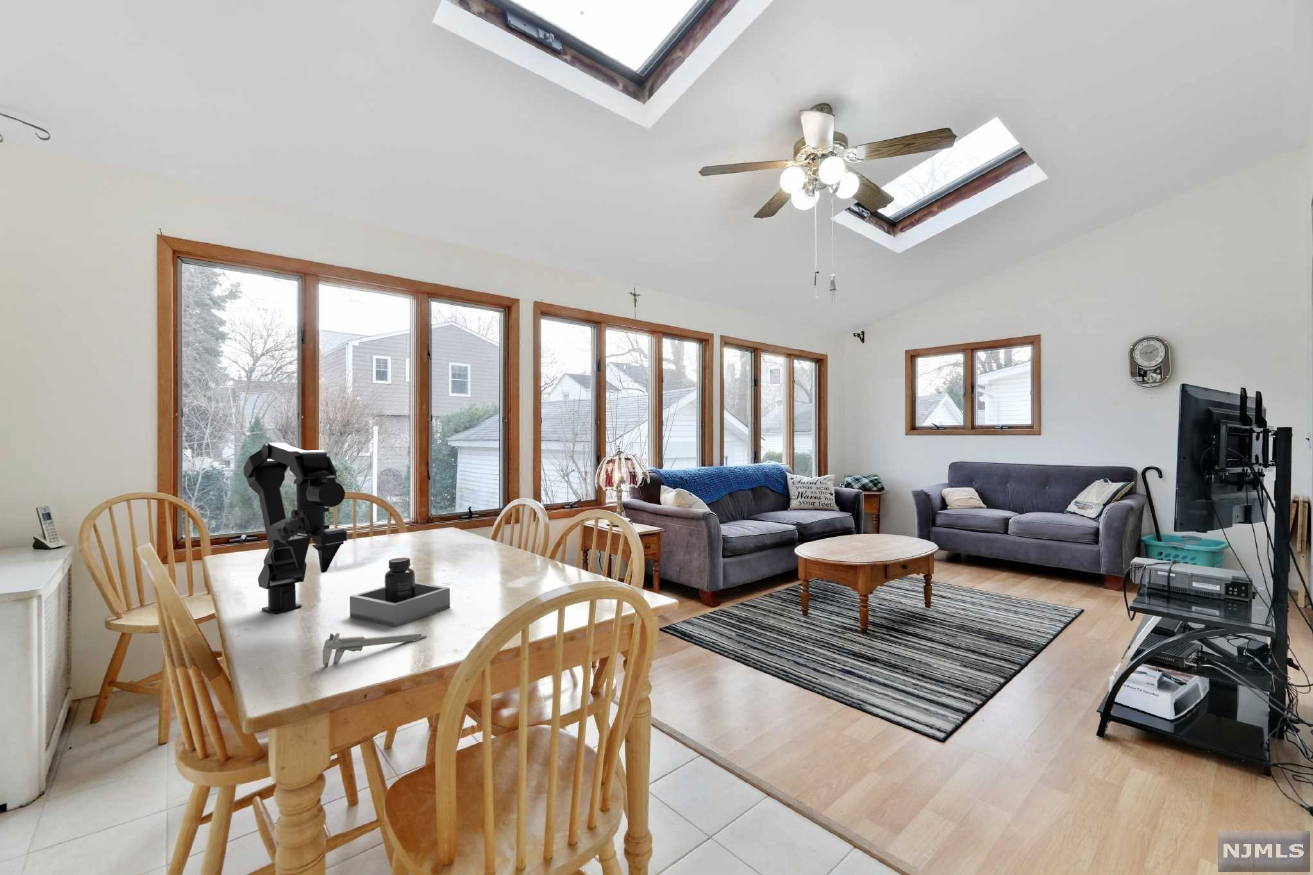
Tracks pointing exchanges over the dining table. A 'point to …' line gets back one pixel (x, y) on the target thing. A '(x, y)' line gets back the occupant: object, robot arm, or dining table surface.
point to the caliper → (361, 644)
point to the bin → (399, 605)
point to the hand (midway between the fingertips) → (311, 570)
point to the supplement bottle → (399, 581)
